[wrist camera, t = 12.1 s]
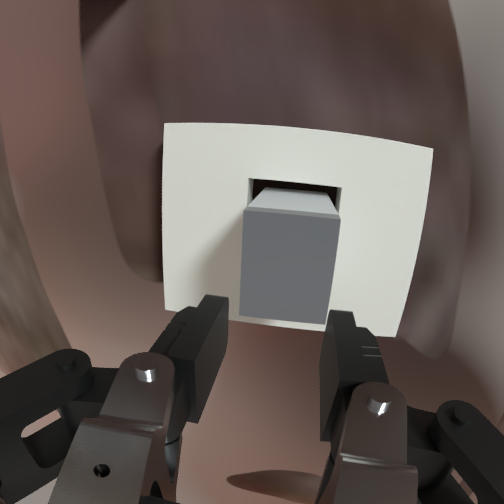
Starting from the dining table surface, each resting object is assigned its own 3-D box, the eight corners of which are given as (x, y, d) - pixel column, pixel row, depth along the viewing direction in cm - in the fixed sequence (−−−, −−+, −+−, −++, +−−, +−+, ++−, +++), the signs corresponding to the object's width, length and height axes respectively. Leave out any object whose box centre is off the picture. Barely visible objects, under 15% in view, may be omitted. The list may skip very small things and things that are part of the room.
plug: (326, 192, 23) (340, 219, 14) (318, 263, 24) (325, 324, 16) (265, 187, 23) (243, 210, 15) (261, 257, 25) (239, 315, 16)
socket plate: (420, 148, 20) (433, 148, 18) (388, 320, 25) (395, 336, 22) (177, 125, 22) (164, 123, 20) (176, 296, 27) (165, 309, 25)
